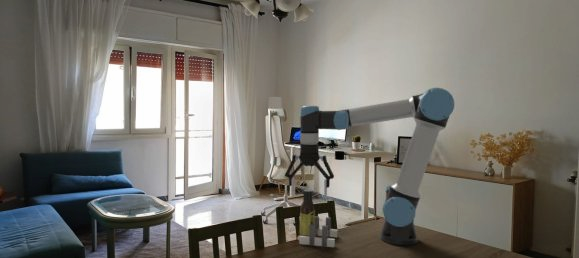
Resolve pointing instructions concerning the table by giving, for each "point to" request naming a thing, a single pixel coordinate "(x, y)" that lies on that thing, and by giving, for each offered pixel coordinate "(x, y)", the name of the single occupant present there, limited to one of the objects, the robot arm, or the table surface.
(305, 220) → the sauce bottle
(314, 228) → the grey block structure
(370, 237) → the table surface
